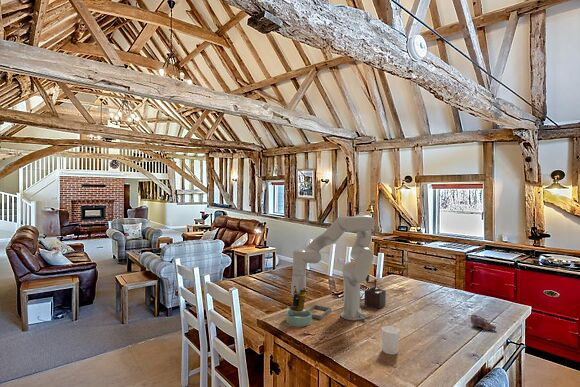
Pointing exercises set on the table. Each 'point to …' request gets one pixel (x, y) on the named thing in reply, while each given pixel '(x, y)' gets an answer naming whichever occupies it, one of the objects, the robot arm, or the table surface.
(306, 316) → the bowl
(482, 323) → the grey-brown irregular lump
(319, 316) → the tray
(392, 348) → the white cup
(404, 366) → the table surface
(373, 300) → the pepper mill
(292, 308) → the condiment
